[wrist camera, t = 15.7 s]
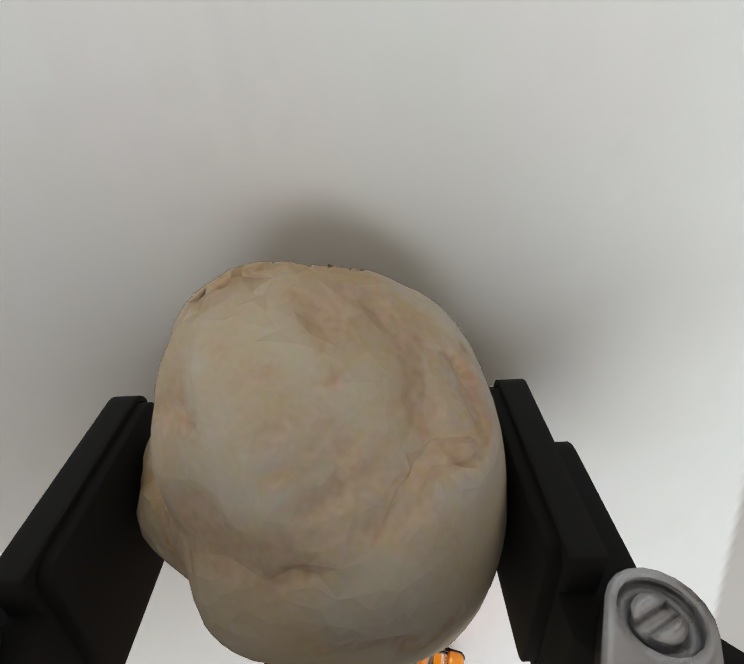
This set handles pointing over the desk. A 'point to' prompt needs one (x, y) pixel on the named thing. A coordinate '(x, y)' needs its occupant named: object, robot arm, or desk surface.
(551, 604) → the robot arm
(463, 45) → the desk surface
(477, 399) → the stone
